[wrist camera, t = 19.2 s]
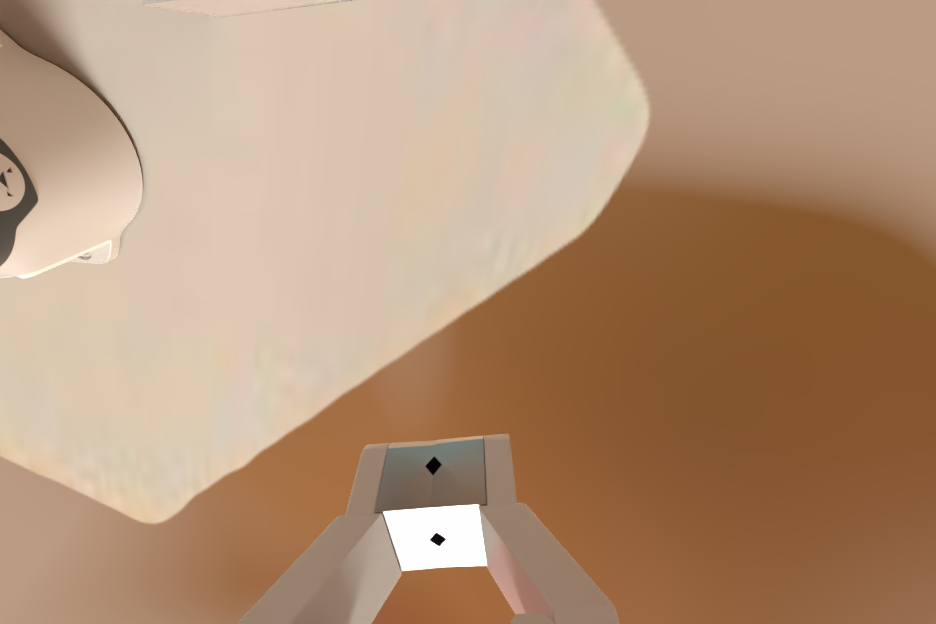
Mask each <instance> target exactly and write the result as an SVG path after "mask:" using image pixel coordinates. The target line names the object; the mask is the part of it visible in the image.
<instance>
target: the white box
mask: <svg viewBox="0 0 936 624" xmlns="http://www.w3.org/2000/svg"><path fill="white" fill-rule="evenodd" d="M141 1H142V3H143V5H148V6H154V7H161V8H167V9H174V10H180V11H187V12H193V13H200V14H206V15H212V16H219V17H229V16H236V15H244V14H251V13H259V12H267V11H274V10H282V9H289V8H297V7H305V6H312V5H320V4H327V3H335V2H343V1H350V0H141Z"/></svg>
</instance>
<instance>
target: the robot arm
mask: <svg viewBox="0 0 936 624" xmlns="http://www.w3.org/2000/svg"><path fill="white" fill-rule="evenodd" d="M142 191H143V181H142V172H141V167H140V163H139V160H138V157H137V154H136V151H135V149H134V147H133V144H132V142H131V140H130V138H129V136H128V135H127V133H126V131H125V130H124V128H123V126H122V125H121V123H120V122H119V121H118V119H117V118H116V116H115V115H114V114H113V113H112V111H111V110H110V109H109V108H108V107H107V106H106V104H105V103H104V102H103V101H102V100H101V99H100V98H99V97H98V96H97V95H96V94H95V93H94V92H93V91H91V90H90V89H89V88H88V87H87V86H86V85H84V84H83V83H82V82H80V81H79V80H78V79H76V78H75V77H74V76H72V75H71V74H69V73H68V72H66V71H64V70H63V69H61V68H59V67H57V66H56V65H54V64H52V63H50V62H47V61H45V60H43V59H41V58H39V57H37V56H35V55H33V54H31V53H29V52H27V51H26V50H24V49H23V48H21V47H20V46H19V45H17V44H16V43H15V42H14V41H13V40H12V39H11V38H10V37H8V36H7V35H6V34H5V33H4V32H3V31H2V30H0V278H8V277H12V276H18V277H20V278H29V277H32V276H35V275H37V274H40V273H42V272H44V271H47V270H49V269H51V268H54V267H56V266H58V265H60V264H63V263H65V262H67V261H73V262H86V263H99V264H100V263H106V262H108V261H111V260H113V259H115V258H116V257H117V255H118V252H119V247H120V238H121V233H122V231H123V230H124V228H125V227H126V226H127V225H128V224H129V222H130V221H131V220H132V219H133V217H134V216H135V214H136V213H137V211H138V208H139V206H140V202H141V198H142ZM459 566H460V567H462V566H487V568H488V570H489V571H490V573H491V575H492V576H493V578H494V580H495V581H496V583H497V584H498V586H499V588H500V589H501V591H502V593H503V594H504V596H505V598H506V599H507V601H508V603H509V604H510V606H511V608H512V609H513V611H514V612H515V614H516V615H515V616H514V618H513V619H512V621H511V622H510V624H619V620H618V616H617V613H616V609H615V606H614V605H613V604H612V602H611V601H610V600H609V599H608V598H607V597H606V596H605V594H604V593H603V592H602V591H601V590H600V589H599V588H598V586H597V585H596V584H595V583H594V582H593V581H592V580H591V579H590V577H589V576H588V575H587V574H586V573H585V572H584V570H583V569H582V568H581V567H580V566H579V565H578V564H577V562H576V561H575V560H574V559H573V558H572V557H571V555H570V554H569V553H568V552H567V551H566V550H565V549H564V547H563V546H562V545H561V544H560V543H559V542H558V541H557V539H556V538H555V537H554V536H553V535H552V534H551V533H550V531H549V530H548V529H547V528H546V527H545V526H544V524H543V523H542V522H541V521H540V520H539V519H538V518H537V516H535V514H534V513H533V512H532V511H531V510H530V508H529V507H528V506H527V505H526V504H525V503H517V498H516V490H515V482H514V472H513V464H512V455H511V446H510V438H509V435H508V434H499V435H488V436H475V437H465V438H454V439H444V440H443V439H442V440H437V441H418V442H400V443H389V444H371V445H366V446H365V448H364V449H363V451H362V454H361V457H360V461H359V465H358V469H357V473H356V476H355V480H354V484H353V488H352V492H351V495H350V499H349V503H348V507H347V511H346V514H345V516H338V517H337V518H336V519H335V520H334V521H333V522H332V523H331V524H330V525H329V526H328V527H327V528H326V529H325V530H324V531H323V533H322V534H321V535H320V536H319V537H318V538H317V539H316V540H315V541H314V542H313V543H312V544H311V545H310V546H309V547H308V549H307V550H306V551H305V552H304V553H303V554H302V555H301V556H300V557H299V558H298V559H297V560H296V561H295V562H294V563H293V565H292V566H291V567H290V568H289V569H288V570H287V571H286V572H285V573H284V574H283V575H282V576H281V577H280V578H279V580H278V581H277V582H276V583H275V584H274V585H273V586H272V587H271V588H270V589H269V590H268V591H267V592H266V593H265V594H264V595H263V597H262V598H261V599H260V600H259V601H258V602H257V603H256V604H255V605H254V606H253V607H252V608H251V609H250V610H249V611H248V613H247V614H246V615H245V616H244V617H243V618H242V619H241V620H240V621H239V622H238V623H237V624H371V623H372V622H373V619H374V618H375V617H376V615H377V613H378V611H379V610H380V609H381V607H382V605H383V604H384V602H385V600H386V599H387V597H388V595H389V594H390V592H391V591H392V589H393V587H394V586H395V584H396V582H397V581H398V579H399V577H400V576H401V571H408V570H419V569H430V568H440V567H459Z"/></svg>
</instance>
